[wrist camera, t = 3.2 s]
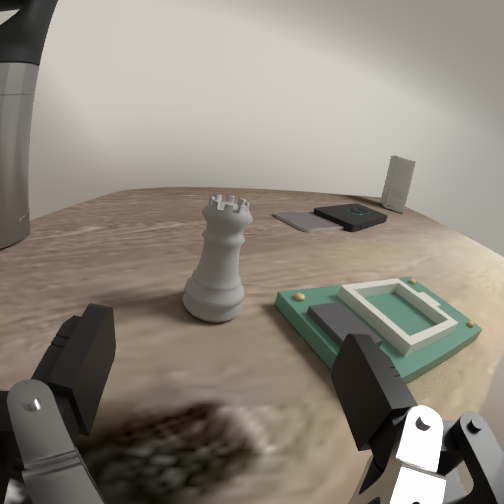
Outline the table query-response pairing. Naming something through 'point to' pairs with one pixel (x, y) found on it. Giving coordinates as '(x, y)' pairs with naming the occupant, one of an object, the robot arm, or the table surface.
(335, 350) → the header board
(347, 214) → the smart home device
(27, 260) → the table surface
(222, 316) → the rook chess piece
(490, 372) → the table surface
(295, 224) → the smartphone
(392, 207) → the skincare box
